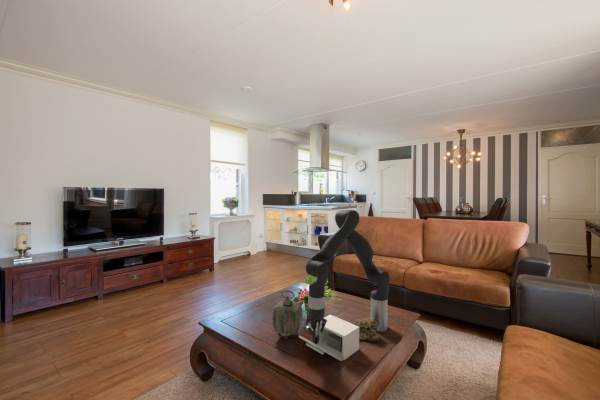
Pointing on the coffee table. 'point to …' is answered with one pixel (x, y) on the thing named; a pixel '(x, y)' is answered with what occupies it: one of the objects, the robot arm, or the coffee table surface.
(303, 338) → the door
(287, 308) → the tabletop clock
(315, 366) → the coffee table surface
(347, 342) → the case
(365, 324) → the mineral specimen
